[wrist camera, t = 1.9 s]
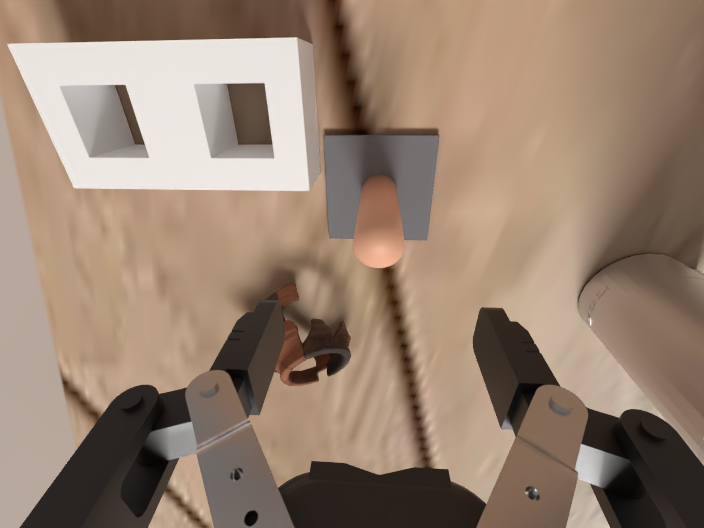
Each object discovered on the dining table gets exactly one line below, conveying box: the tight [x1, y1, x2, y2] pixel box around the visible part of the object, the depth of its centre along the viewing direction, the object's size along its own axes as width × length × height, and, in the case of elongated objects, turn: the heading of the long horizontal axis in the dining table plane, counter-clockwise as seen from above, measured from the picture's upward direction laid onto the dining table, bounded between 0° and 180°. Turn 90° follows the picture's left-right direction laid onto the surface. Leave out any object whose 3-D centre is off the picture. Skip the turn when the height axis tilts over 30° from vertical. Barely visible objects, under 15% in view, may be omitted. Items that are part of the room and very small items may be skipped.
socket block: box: [7, 37, 321, 191], centre depth 23 cm, size 18×9×5 cm, turn 91°
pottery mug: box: [268, 284, 351, 386], centre depth 34 cm, size 12×9×8 cm
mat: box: [324, 135, 439, 240], centre depth 27 cm, size 9×9×1 cm
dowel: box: [353, 174, 405, 268], centre depth 23 cm, size 3×3×10 cm
